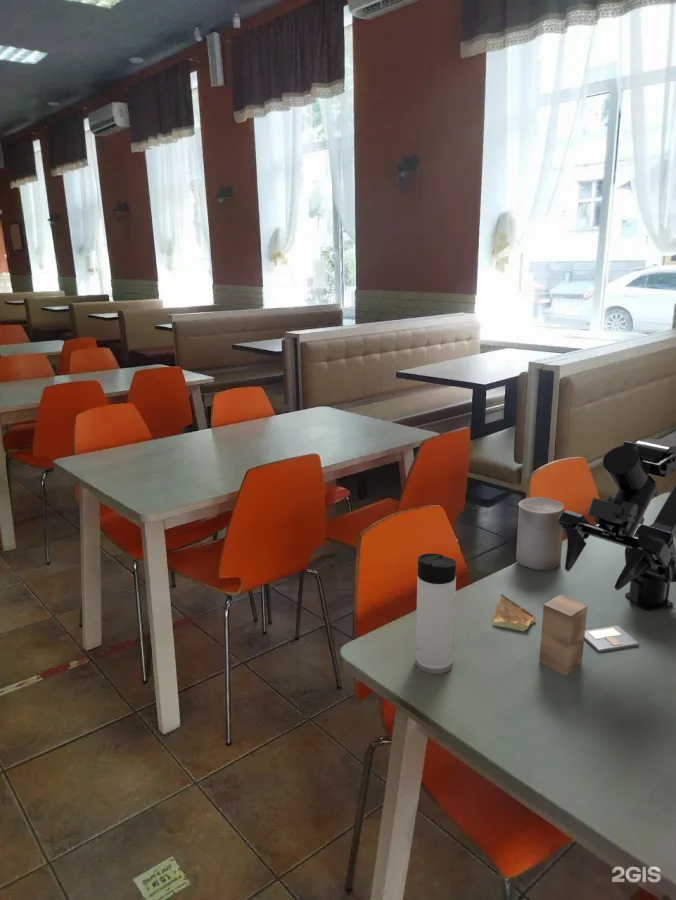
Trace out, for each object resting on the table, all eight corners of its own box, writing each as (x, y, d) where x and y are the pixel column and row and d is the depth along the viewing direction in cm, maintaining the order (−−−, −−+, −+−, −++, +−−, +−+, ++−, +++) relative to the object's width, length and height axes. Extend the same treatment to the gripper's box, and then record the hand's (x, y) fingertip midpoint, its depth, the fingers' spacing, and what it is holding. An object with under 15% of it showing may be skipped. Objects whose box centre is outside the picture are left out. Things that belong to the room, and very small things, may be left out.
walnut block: (555, 650, 116) (560, 594, 113) (581, 663, 113) (587, 605, 110) (539, 661, 113) (543, 604, 110) (565, 675, 110) (570, 616, 106)
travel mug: (406, 665, 113) (408, 557, 107) (430, 649, 117) (433, 545, 112) (436, 680, 109) (439, 569, 103) (460, 663, 113) (464, 556, 107)
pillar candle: (553, 551, 155) (557, 491, 150) (566, 570, 145) (570, 506, 141) (511, 552, 155) (514, 491, 151) (521, 571, 146) (524, 507, 141)
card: (617, 628, 123) (617, 625, 123) (638, 645, 117) (639, 642, 117) (578, 634, 121) (579, 631, 121) (598, 652, 116) (598, 649, 115)
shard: (500, 600, 134) (501, 592, 134) (539, 607, 132) (540, 599, 131) (490, 627, 125) (491, 618, 124) (532, 635, 122) (533, 626, 121)
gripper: (567, 467, 119) (526, 541, 116) (672, 494, 105) (630, 578, 102) (586, 498, 126) (549, 568, 123) (687, 527, 112) (648, 607, 109)
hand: (590, 579), depth 114 cm, fingers open, 9 cm apart
